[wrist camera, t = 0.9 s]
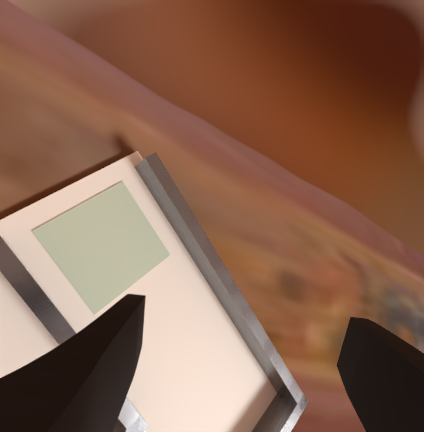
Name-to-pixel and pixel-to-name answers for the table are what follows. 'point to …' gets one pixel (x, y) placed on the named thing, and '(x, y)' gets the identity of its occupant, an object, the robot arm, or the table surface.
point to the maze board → (132, 284)
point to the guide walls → (219, 283)
